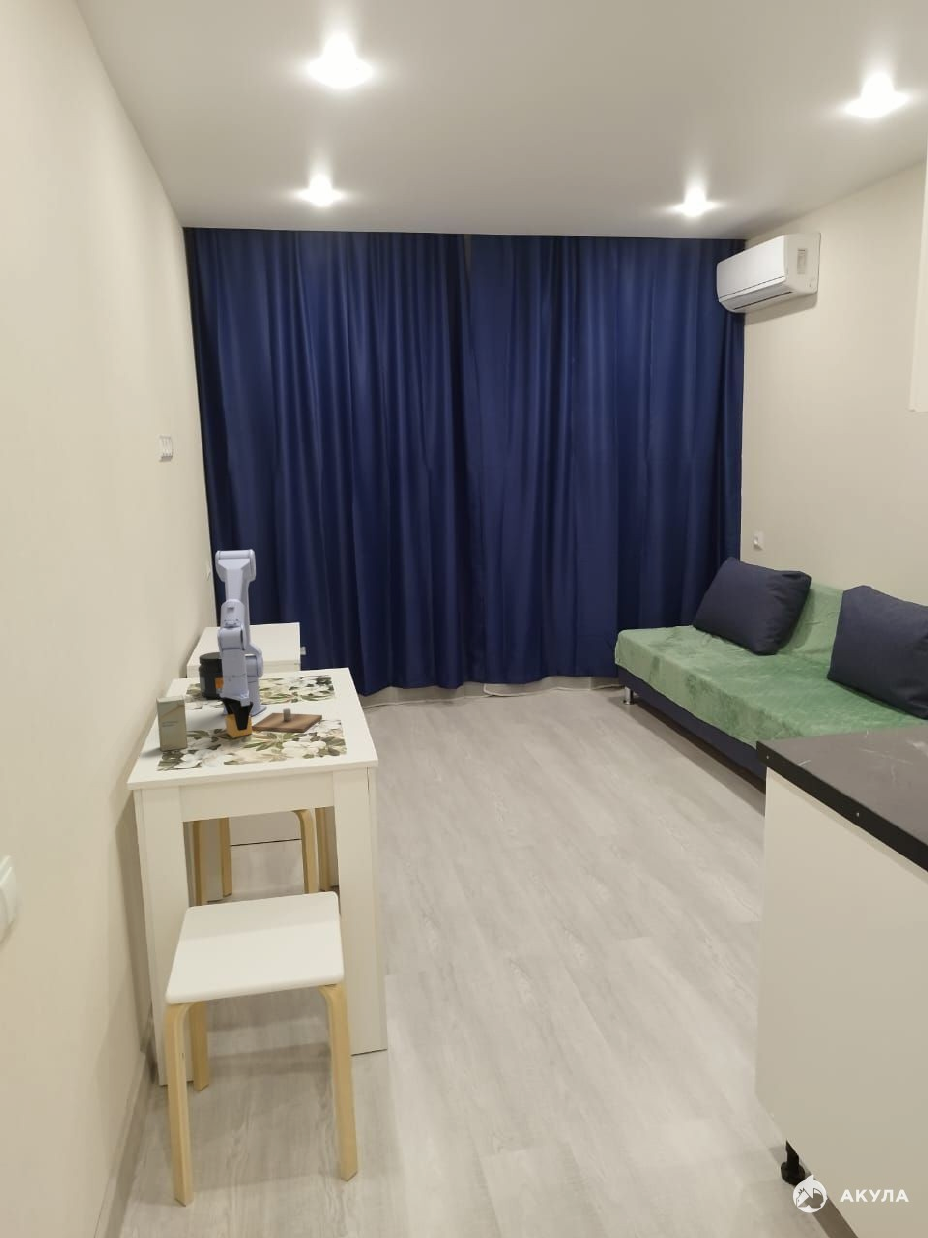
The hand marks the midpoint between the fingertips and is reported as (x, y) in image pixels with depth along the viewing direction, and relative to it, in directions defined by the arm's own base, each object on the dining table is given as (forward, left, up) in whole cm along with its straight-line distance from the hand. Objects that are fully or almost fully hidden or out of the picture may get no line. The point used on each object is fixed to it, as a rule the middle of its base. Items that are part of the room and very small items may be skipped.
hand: (239, 727), depth 224 cm
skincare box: (-11, -12, -2) cm, 16 cm away
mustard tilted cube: (0, 0, -2) cm, 2 cm away
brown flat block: (+9, +9, -2) cm, 13 cm away
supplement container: (-23, +32, -2) cm, 39 cm away
